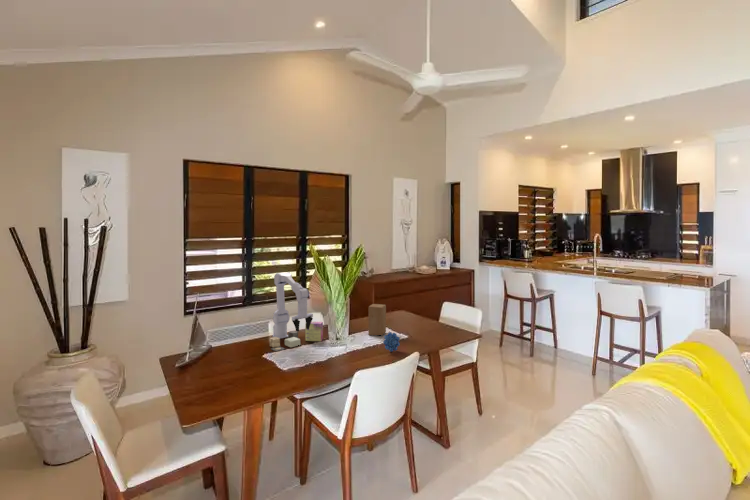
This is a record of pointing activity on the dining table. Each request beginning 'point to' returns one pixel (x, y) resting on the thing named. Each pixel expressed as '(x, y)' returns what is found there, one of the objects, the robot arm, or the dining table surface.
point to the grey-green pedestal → (292, 342)
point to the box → (314, 332)
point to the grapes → (391, 341)
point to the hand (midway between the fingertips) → (302, 330)
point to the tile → (277, 348)
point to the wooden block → (377, 319)
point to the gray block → (292, 334)
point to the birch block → (274, 342)
